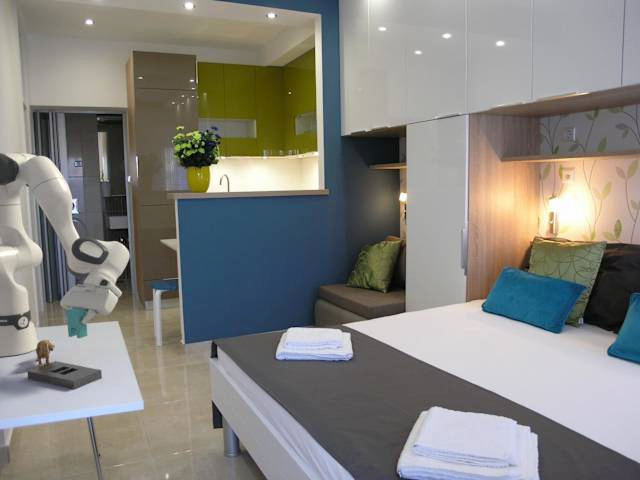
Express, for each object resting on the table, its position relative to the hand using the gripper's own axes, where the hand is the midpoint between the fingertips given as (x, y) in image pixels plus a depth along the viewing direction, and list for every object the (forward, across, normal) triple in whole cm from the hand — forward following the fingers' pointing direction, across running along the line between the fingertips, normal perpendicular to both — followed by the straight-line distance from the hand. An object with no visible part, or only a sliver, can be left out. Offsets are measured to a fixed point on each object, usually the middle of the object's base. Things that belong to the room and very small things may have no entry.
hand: (75, 322), depth 177 cm
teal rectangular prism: (+3, 0, +4) cm, 5 cm away
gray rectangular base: (+15, 0, +8) cm, 17 cm away
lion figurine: (+10, -19, +14) cm, 26 cm away
